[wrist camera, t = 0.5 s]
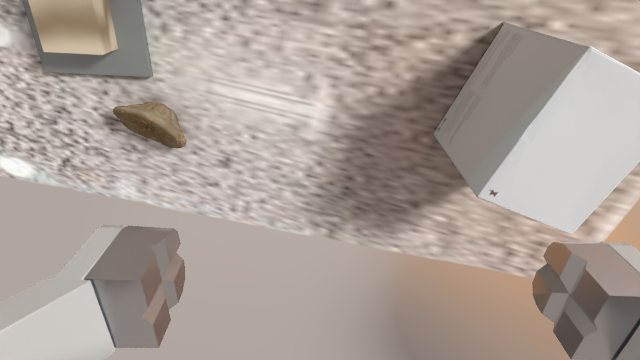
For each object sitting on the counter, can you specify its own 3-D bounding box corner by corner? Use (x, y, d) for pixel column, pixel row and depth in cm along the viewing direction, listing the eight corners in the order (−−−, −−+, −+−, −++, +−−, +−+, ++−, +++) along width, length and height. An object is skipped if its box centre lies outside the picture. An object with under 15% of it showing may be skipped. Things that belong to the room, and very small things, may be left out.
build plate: (13, -51, 44) (6, -51, 43) (132, -44, 44) (128, -44, 43) (49, 70, 51) (44, 72, 50) (152, 75, 51) (149, 77, 50)
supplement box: (503, 165, 58) (571, 239, 42) (430, 134, 55) (473, 199, 40) (583, 61, 50) (703, 103, 34) (502, 18, 48) (591, 42, 32)
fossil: (99, 105, 47) (171, 129, 47) (116, 77, 49) (186, 100, 48) (130, 136, 56) (191, 157, 55) (143, 112, 57) (204, 132, 57)
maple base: (46, -15, 45) (23, -14, 41) (105, -12, 45) (87, -10, 42) (63, 46, 48) (43, 51, 45) (118, 48, 49) (102, 54, 45)
